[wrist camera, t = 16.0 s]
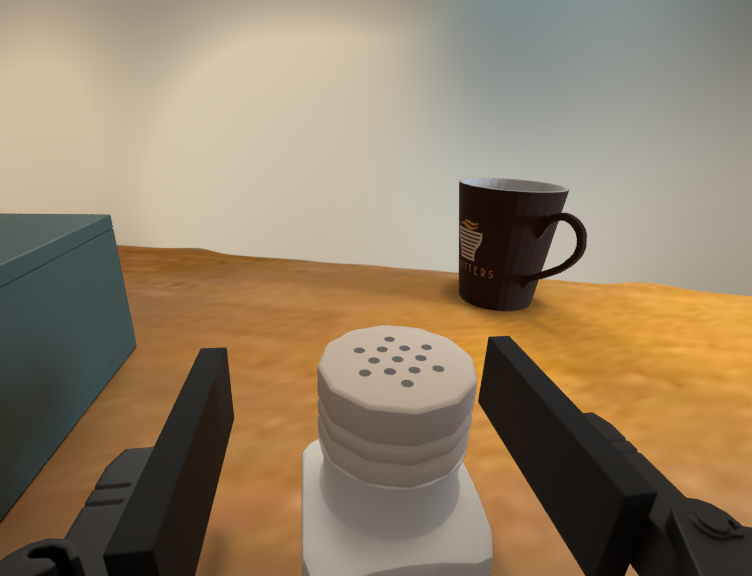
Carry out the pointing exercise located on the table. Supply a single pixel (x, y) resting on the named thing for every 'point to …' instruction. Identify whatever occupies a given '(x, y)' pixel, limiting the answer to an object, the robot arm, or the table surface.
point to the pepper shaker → (393, 460)
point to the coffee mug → (509, 239)
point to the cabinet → (54, 334)
